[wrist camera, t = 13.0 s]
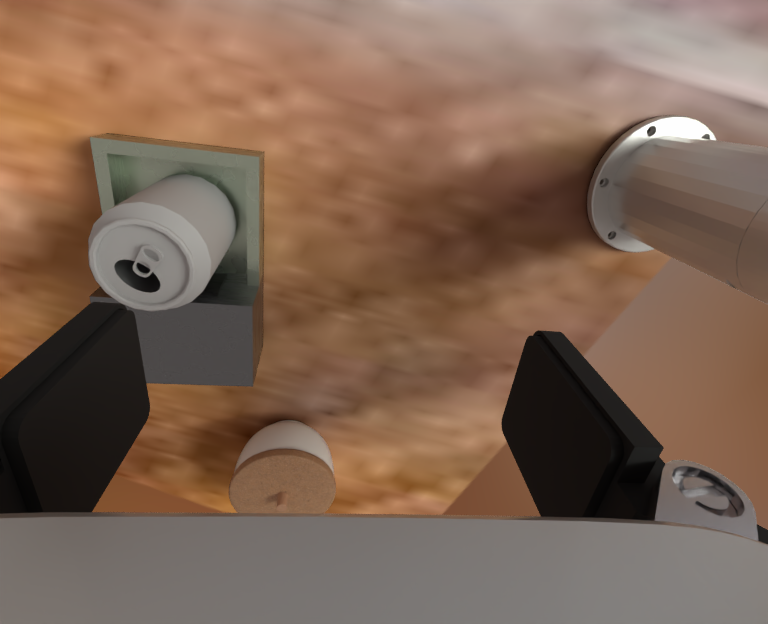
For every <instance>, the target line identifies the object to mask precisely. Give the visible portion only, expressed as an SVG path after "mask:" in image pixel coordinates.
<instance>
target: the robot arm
mask: <svg viewBox="0 0 768 624" xmlns="http://www.w3.org/2000/svg"><path fill="white" fill-rule="evenodd" d="M587 211H588V217H589V221H590V223H591V226H592V228H593V230H594V231H595V233H596V234H597V235H598V237H599V238H601V239H602V240H603V241H604V242H605V243H607V244H609V245H611V246H612V247H614V248H616V249H619V250H622V251H625V252H646V251H650V250H654V249H656V250H658V251H660V252H662V253H664V254H666V255H668V256H670V257H672V258H675V259H676V260H678V261H680V262H682V263H685V264H687V265H689V266H691V267H693V268H695V269H697V270H699V271H701V272H703V273H705V274H707V275H709V276H711V277H713V278H715V279H717V280H719V281H721V282H723V283H725V284H728V285H729V286H731V287H733V288H735V289H737V290H739V291H742V292H743V293H746V294H748V295H750V296H752V297H754V298H756V299H758V300H760V301H762V302H764V303H766V304H768V147H761V146H753V145H746V144H739V143H731V142H724V141H717V140H716V138H715V136H714V134H713V132H712V131H711V130H710V129H709V128H708V127H707V126H706V125H705V124H703V123H702V122H700V121H698V120H697V119H693V118H690V117H686V116H677V115H669V116H659V117H656V118H652V119H649V120H646V121H644V122H642V123H640V124H638V125H636V126H634V127H633V128H631V129H630V130H628V131H627V132H626V133H624V134H623V135H622V136H621V137H620V138H619V139H617V140H616V141H615V142H614V143H613V144H612V145H611V147H610V148H609V149H608V150H607V152H606V153H605V154H604V156H603V157H602V158H601V160H600V162H599V164H598V166H597V167H596V169H595V171H594V174H593V177H592V179H591V182H590V185H589V190H588V195H587ZM149 411H150V403H149V397H148V391H147V385H146V379H145V373H144V366H143V360H142V354H141V348H140V342H139V336H138V330H137V324H136V318H135V314H134V312H133V311H131V310H127V308H126V307H125V305H124V304H121V303H106V302H92V303H91V304H89V305H88V306H87V307H86V308H85V309H83V310H82V311H81V312H80V313H79V314H77V315H76V316H75V317H74V318H73V319H72V320H70V321H69V322H68V323H67V324H66V325H64V326H63V327H62V328H61V329H60V330H58V331H57V332H56V333H55V334H54V335H52V336H51V337H50V338H49V339H48V340H47V341H45V342H44V343H43V344H42V345H41V346H39V347H38V348H37V349H36V350H35V351H33V352H32V353H31V354H30V355H29V356H27V357H26V358H25V359H24V360H23V361H22V362H20V363H19V364H18V365H17V366H16V367H14V368H13V369H12V370H11V371H10V372H8V373H7V374H6V375H5V376H4V377H2V378H1V379H0V624H768V530H767V529H765V528H763V527H761V526H759V525H757V523H756V513H755V510H754V507H753V505H752V503H751V501H750V500H749V499H748V497H747V496H746V494H745V493H744V492H743V491H742V490H741V489H740V488H738V487H737V486H736V485H735V484H734V483H733V482H732V481H730V480H729V479H727V478H726V477H724V476H723V475H721V474H720V473H718V472H716V471H714V470H712V469H710V468H708V467H706V466H703V465H700V464H697V463H695V462H690V461H685V460H673V461H671V462H668V463H666V464H665V463H664V462H663V461H662V460H661V458H660V457H659V455H660V454H661V452H662V450H663V446H662V445H661V444H660V443H659V442H658V441H657V440H656V439H655V438H654V437H653V435H652V434H651V433H650V432H649V431H648V430H647V428H646V427H645V426H644V425H643V424H642V423H641V421H640V420H639V419H638V418H637V417H636V416H635V415H634V414H633V412H632V411H631V410H630V409H629V408H628V407H627V406H626V405H625V404H624V402H623V401H622V400H621V399H620V398H619V397H618V396H617V394H616V393H615V392H614V391H613V390H612V389H611V388H610V386H609V385H608V384H607V383H606V382H605V381H604V380H603V379H602V377H601V376H600V375H599V374H598V373H597V372H596V371H595V369H594V368H593V367H592V366H591V365H590V364H589V363H588V362H587V360H586V359H585V358H584V357H583V356H582V355H581V354H580V352H579V351H578V350H577V349H576V348H575V347H574V346H573V344H572V343H571V342H570V341H569V340H568V339H567V338H566V337H565V335H564V334H563V333H561V332H553V331H536V332H535V333H534V335H533V336H529V337H528V338H527V340H526V342H525V346H524V349H523V352H522V355H521V359H520V362H519V365H518V368H517V372H516V375H515V378H514V381H513V385H512V388H511V391H510V395H509V398H508V401H507V404H506V408H505V411H504V414H503V417H502V431H503V434H504V436H505V438H506V440H507V443H508V445H509V447H510V449H511V451H512V454H513V456H514V458H515V460H516V462H517V465H518V467H519V469H520V471H521V473H522V476H523V478H524V480H525V482H526V484H527V487H528V489H529V491H530V493H531V495H532V497H533V500H534V502H535V504H536V506H537V509H538V511H539V513H540V515H541V517H536V516H533V517H532V516H475V515H474V516H473V515H407V514H312V513H144V512H135V513H134V512H130V513H129V512H126V513H125V512H94V513H93V512H92V511H93V509H94V507H95V506H96V504H97V502H98V501H99V499H100V498H101V496H102V494H103V492H104V491H105V489H106V487H107V486H108V484H109V483H110V481H111V479H112V478H113V476H114V474H115V473H116V471H117V469H118V468H119V466H120V464H121V463H122V461H123V459H124V458H125V456H126V454H127V453H128V451H129V449H130V448H131V446H132V444H133V443H134V441H135V439H136V438H137V436H138V434H139V433H140V431H141V429H142V428H143V426H144V424H145V423H146V421H147V419H148V416H149Z"/></svg>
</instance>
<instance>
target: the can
mask: <svg viewBox="0 0 768 624" xmlns="http://www.w3.org/2000/svg"><path fill="white" fill-rule="evenodd" d="M236 223H237V222H236V217H235V213H234V209H233V207H232V205H231V204H230V202H229V200H228V198H227V197H226V195H225V194H224V193H223V192H222V191H220V190H219V189H218V188H217V187H216V186H215V185H214V184H212V183H210V182H208V181H206V180H205V179H203V178H201V177H196V176H192V175H187V174H181V175H170V176H168V177H166V178H164V179H162V180H159V181H157V182H156V183H154V184H152V185H150V186H149V187H147V188H145V189H143V190H142V191H140V192H138V193H137V194H135V195H133V196H131V197H130V198H128V199H126V200H124V201H123V202H121V203H119V204H118V205H116V206H114V207H112V208H111V209H109V210H107V211H105V213H104V214H103V215H102V216H101V217H100V218H99V219H98V220H97V221H96V222H95V223H94V225H93V228H92V231H91V233H90V236H89V239H88V243H89V250H88V255H89V266H90V269H91V271H92V273H93V276H94V278H95V280H96V281H97V283H98V284H99V285H100V286H101V287H102V289H103V290H104V291H105V292H106V293H107V294H108V295H110V296H111V297H112V298H114V299H115V300H117V301H118V302H119V303H122V304H124V305H127V306H129V307H131V308H134V309H139V310H145V311H159V310H167V309H172V308H178V307H180V306H183V305H185V304H187V303H190V302H192V301H193V300H194V299H195V298H196V297H197V296H198V295H200V294H201V293H202V292H203V291H204V289H205V287H206V286H207V284H208V282H209V280H210V279H211V277H212V275H213V274H214V272H215V270H216V269H217V267H218V265H219V264H220V262H221V260H222V259H223V257H224V255H225V253H226V252H227V250H228V248H229V247H230V245H231V243H232V241H233V239H234V237H235V233H236Z"/></svg>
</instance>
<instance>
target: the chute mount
mask: <svg viewBox="0 0 768 624" xmlns="http://www.w3.org/2000/svg"><path fill="white" fill-rule="evenodd" d="M90 142H91V148H92V155H93V161H94V167H95V173H96V179H97V185H98V191H99V197H100V204H101V210H102V215H103V214H104V213H105V211H107V210H109V209H111V208H112V207H114V206H116V205H118V204H119V203H121V202H123V201H124V200H126V199H128V198H130V197H131V196H133V195H135V194H137V193H138V192H140V191H142V190H143V189H145V188H147V187H149V186H150V185H152V184H154V183H156V182H157V181H159V180H162V179H164V178H166V177H168V176H170V175H181V174H187V175H192V176H196V177H201V178H203V179H205V180H206V181H208V182H210V183H212V184H214V185H215V186H216V187H217V188H218V189H219V190H220V191H222V192H223V193H224V194H225V195H226V197H227V198H228V200H229V202H230V204H231V205H232V207H233V209H234V213H235V217H236V222H237V223H236V233H235V237H234V239H233V241H232V243H231V245H230V247H229V248H228V250H227V252H226V253H225V255H224V257H223V259H222V260H221V262H220V264H219V265H218V267H217V269H216V270H215V272H214V274H213V275H212V277H211V279H210V280H209V282H208V284H207V286H206V287H205V289H204V291H203V292H202V293H201V294H200V295H198V296H197V297H196V298H195V299H194V300H193V301H192V302H190V303H187V304H185V305H183V306H180V307H178V308H172V309H167V310H159V311H145V310H139V309H134V308H131V307H129V306H127V305H125V307H126V308H127V310H131V311H133V312H134V314H135V318H136V324H137V330H138V336H139V342H140V348H141V354H142V360H143V366H144V373H145V379H146V383H159V384H191V385H223V386H253V384H254V380H255V376H256V372H257V368H258V364H259V360H260V355H261V351H262V347H263V257H264V152H261V151H253V150H245V149H236V148H228V147H219V146H211V145H203V144H194V143H186V142H177V141H169V140H161V139H152V138H144V137H135V136H127V135H118V134H110V133H107V134H102V135H97V136H93V137H90ZM90 301H91V303H92V302H106V303H119V302H118V301H117V300H115V299H114V298H112V297H111V296H110V295H108V294H107V293H106V292H105V291H104V290H103V289H102V287H100V288H98V289H97V290H96V291H95V292H94V293H93V294H92V295H91V296H90ZM121 304H122V303H121Z"/></svg>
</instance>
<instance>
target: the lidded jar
mask: <svg viewBox="0 0 768 624" xmlns="http://www.w3.org/2000/svg"><path fill="white" fill-rule="evenodd" d="M335 491H336V483H335V478H334V466H333V461H332V456H331V453H330V450H329V447H328V445H327V443H326V442H325V440H324V439H323V437H322V436H321V435H320V434H319V433H318V432H317V431H316V430H314V429H313V428H311V427H309V426H307V425H306V424H304V423H302V422H299V421H295V420H283V421H279V422H276V423H274V424H271V425H268V426H266V427H264V428H263V429H261V430H260V431H258V432H257V433H256V434H254V435H253V436H252V438H251V439H250V440H249V441H248V442H247V443H246V445H245V447H244V449H243V450H242V452H241V454H240V456H239V459H238V461H237V464H236V467H235V471H234V474H233V476H232V479H231V482H230V486H229V498H230V501H231V504H232V505H233V507H234V509H235V510H236V511H237V512H238V513H312V514H323V513H324V512H325V511H326V510H327V509H328V508H329V507H330V505H331V504H332V502H333V500H334V497H335Z"/></svg>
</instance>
